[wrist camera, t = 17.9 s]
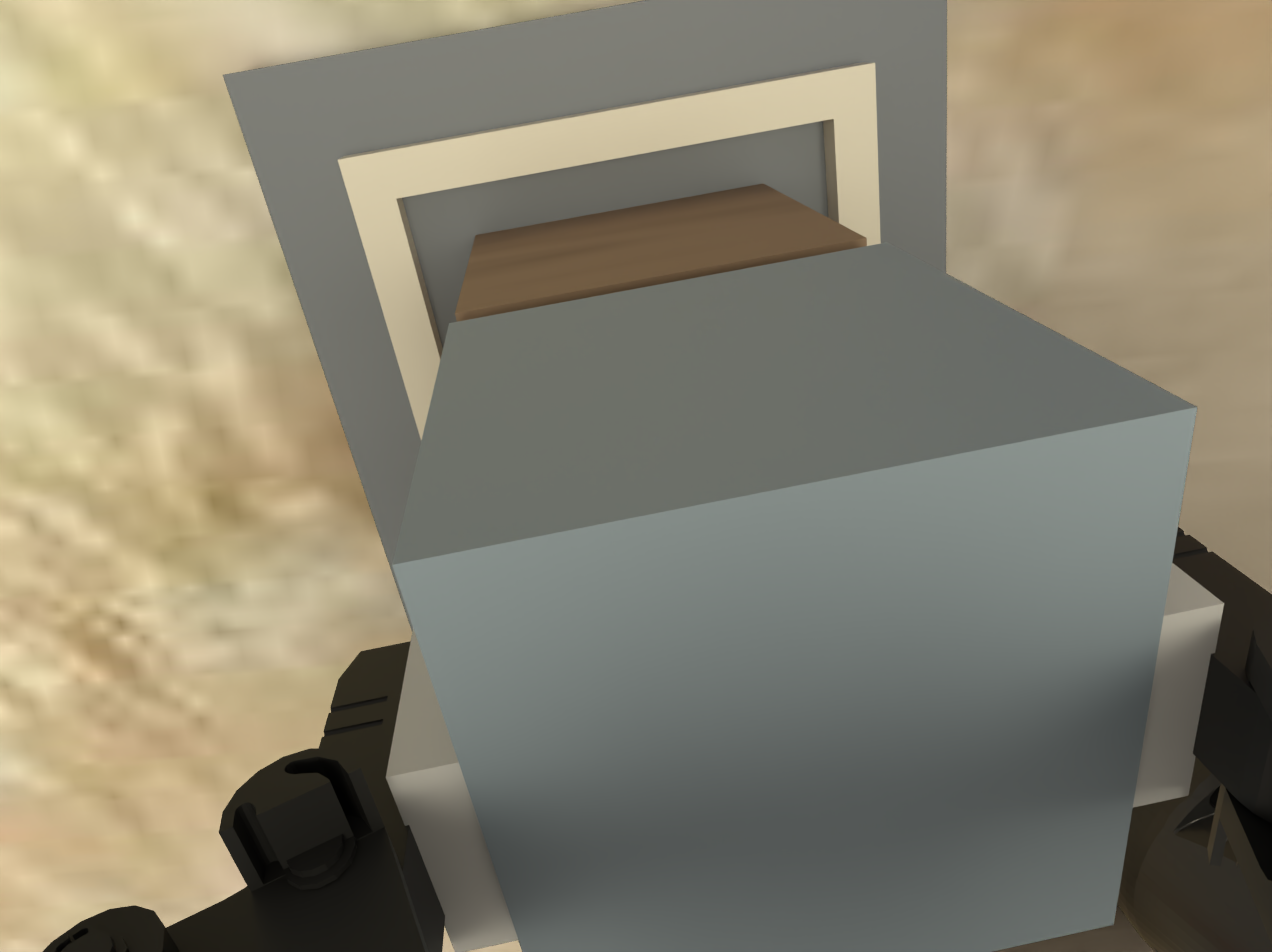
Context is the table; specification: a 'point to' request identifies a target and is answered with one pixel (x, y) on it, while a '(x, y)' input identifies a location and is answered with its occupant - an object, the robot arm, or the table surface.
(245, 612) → the table surface
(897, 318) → the slate blue block
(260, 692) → the table surface
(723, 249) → the walnut block
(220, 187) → the table surface
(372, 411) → the grey square base plate
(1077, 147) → the table surface
